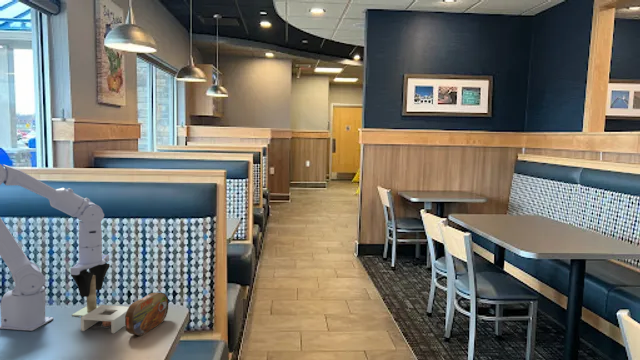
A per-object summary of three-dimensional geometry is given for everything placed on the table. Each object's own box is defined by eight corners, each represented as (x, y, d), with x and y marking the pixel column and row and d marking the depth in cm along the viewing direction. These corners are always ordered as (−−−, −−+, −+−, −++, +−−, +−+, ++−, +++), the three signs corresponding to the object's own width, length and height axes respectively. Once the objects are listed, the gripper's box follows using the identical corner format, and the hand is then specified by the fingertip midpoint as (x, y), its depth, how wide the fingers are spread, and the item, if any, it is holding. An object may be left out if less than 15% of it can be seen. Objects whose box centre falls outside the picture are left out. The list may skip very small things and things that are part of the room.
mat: (71, 316, 123) (71, 314, 123) (87, 306, 130) (87, 305, 130) (95, 317, 123) (95, 316, 123) (110, 308, 130) (110, 307, 130)
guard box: (81, 330, 114) (80, 317, 114) (101, 317, 123) (101, 304, 123) (114, 333, 113) (114, 319, 113) (132, 319, 122) (132, 307, 122)
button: (100, 325, 117) (100, 320, 117) (106, 321, 119) (106, 316, 119) (109, 326, 117) (109, 320, 116) (115, 322, 119) (115, 317, 119)
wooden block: (85, 312, 125) (83, 277, 124) (90, 308, 128) (89, 274, 127) (93, 312, 125) (91, 277, 124) (98, 309, 127) (97, 275, 126)
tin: (133, 341, 109) (133, 307, 108) (122, 339, 110) (122, 306, 109) (169, 318, 124) (169, 288, 123) (159, 316, 124) (159, 287, 124)
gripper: (87, 252, 117) (88, 302, 118) (118, 240, 132) (118, 285, 133) (62, 250, 118) (63, 300, 119) (95, 239, 132) (96, 284, 133)
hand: (91, 292), depth 126 cm, fingers open, 5 cm apart
